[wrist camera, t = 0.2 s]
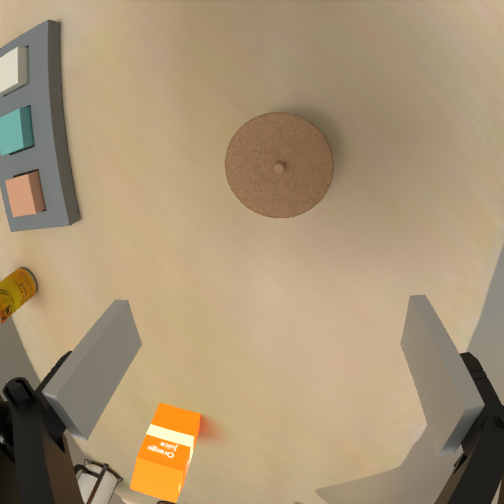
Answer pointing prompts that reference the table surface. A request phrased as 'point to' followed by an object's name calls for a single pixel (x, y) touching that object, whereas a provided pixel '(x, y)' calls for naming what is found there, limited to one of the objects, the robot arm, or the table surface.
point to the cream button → (14, 70)
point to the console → (41, 132)
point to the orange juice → (166, 453)
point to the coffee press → (96, 483)
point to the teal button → (16, 131)
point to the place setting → (165, 502)
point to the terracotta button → (25, 194)
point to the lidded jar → (279, 165)
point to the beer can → (15, 292)
